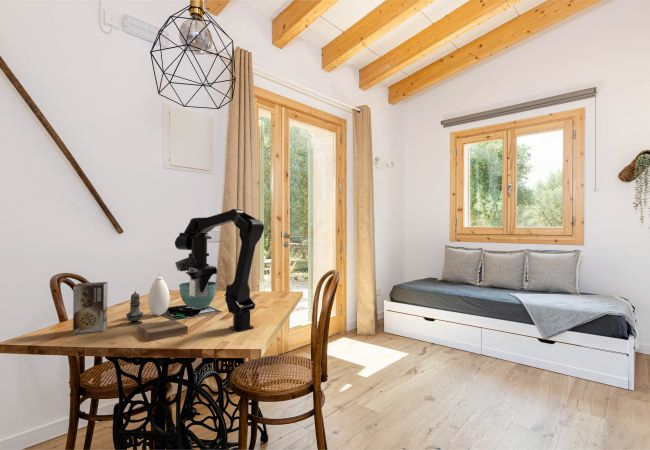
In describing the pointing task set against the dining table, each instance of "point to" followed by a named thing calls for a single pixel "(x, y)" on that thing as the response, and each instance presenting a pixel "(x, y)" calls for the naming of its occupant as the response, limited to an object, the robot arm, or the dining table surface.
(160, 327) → the walnut block
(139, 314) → the salt shaker
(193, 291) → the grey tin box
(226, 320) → the dining table surface
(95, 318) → the coffee box
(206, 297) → the teal bowl
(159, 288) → the white tall oval piece
